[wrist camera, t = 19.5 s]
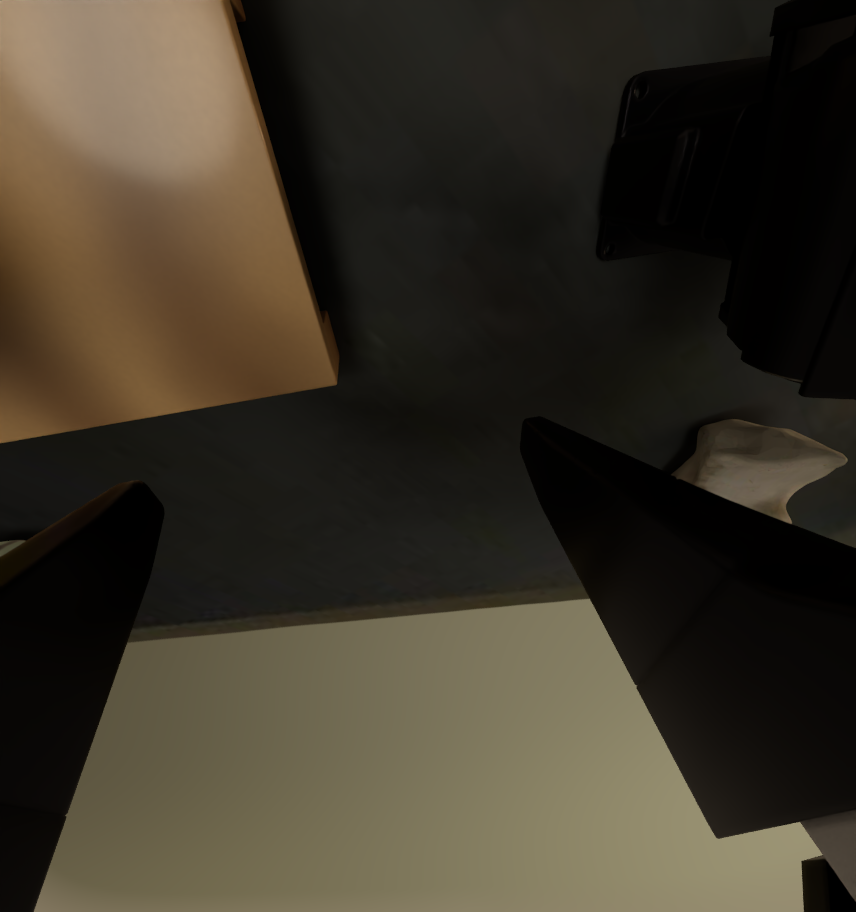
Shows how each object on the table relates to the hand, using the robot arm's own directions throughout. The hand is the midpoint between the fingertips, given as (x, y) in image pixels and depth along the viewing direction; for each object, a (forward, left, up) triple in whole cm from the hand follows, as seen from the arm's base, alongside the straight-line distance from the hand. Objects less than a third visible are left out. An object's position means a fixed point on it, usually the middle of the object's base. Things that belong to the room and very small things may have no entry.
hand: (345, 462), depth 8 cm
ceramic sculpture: (-24, +17, -12) cm, 32 cm away
